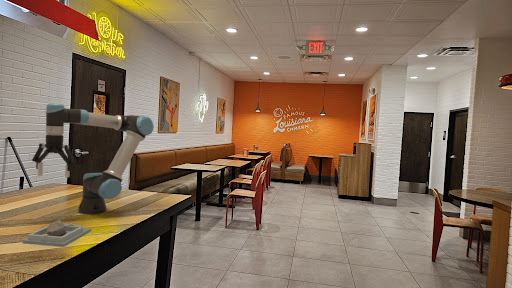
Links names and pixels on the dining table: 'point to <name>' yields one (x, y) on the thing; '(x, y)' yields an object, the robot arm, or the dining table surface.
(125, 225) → the dining table surface
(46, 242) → the bracket board
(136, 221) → the dining table surface
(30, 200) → the dining table surface
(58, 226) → the stone
